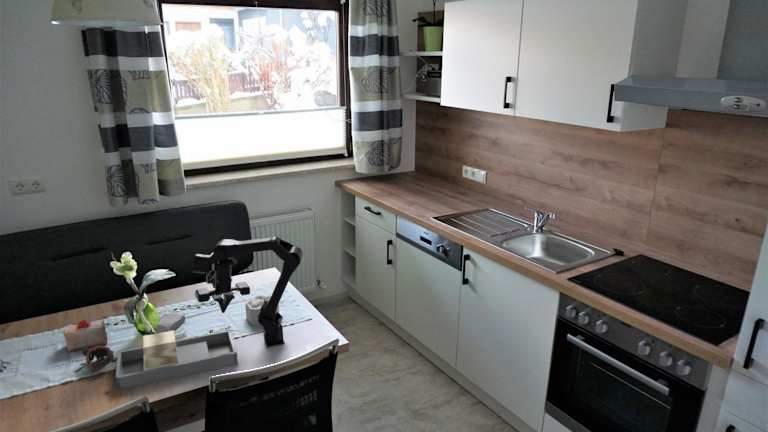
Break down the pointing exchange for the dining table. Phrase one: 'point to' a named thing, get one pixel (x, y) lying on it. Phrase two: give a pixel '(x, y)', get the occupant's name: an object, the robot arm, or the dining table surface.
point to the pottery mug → (98, 357)
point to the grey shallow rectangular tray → (191, 360)
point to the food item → (85, 335)
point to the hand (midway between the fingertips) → (223, 312)
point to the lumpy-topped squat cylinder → (255, 308)
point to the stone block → (170, 322)
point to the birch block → (160, 349)
